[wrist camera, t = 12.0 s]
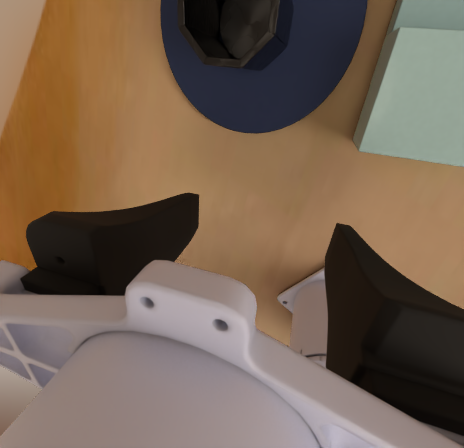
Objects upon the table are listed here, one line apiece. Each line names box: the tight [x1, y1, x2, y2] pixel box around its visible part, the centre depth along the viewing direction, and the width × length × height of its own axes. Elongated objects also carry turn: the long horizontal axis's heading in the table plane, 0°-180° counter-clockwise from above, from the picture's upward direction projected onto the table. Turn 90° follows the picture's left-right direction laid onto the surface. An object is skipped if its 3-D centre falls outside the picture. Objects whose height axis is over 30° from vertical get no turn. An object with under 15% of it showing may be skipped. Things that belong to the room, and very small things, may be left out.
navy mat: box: [161, 0, 367, 133], centre depth 18 cm, size 14×14×1 cm
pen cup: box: [177, 0, 294, 71], centre depth 15 cm, size 5×5×6 cm
